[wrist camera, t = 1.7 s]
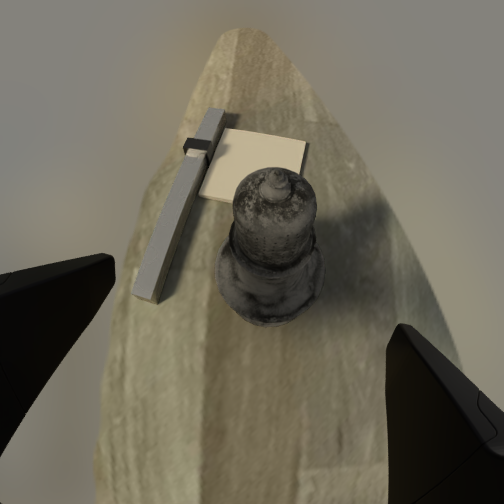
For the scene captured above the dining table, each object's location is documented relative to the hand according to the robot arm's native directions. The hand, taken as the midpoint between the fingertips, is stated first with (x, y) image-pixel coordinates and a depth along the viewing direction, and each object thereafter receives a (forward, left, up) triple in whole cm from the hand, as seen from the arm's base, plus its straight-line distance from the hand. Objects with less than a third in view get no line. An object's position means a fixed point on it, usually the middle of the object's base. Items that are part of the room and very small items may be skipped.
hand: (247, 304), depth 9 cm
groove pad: (+12, +3, -10) cm, 16 cm away
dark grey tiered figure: (+4, 0, -11) cm, 11 cm away
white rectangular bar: (+9, +7, -10) cm, 15 cm away
